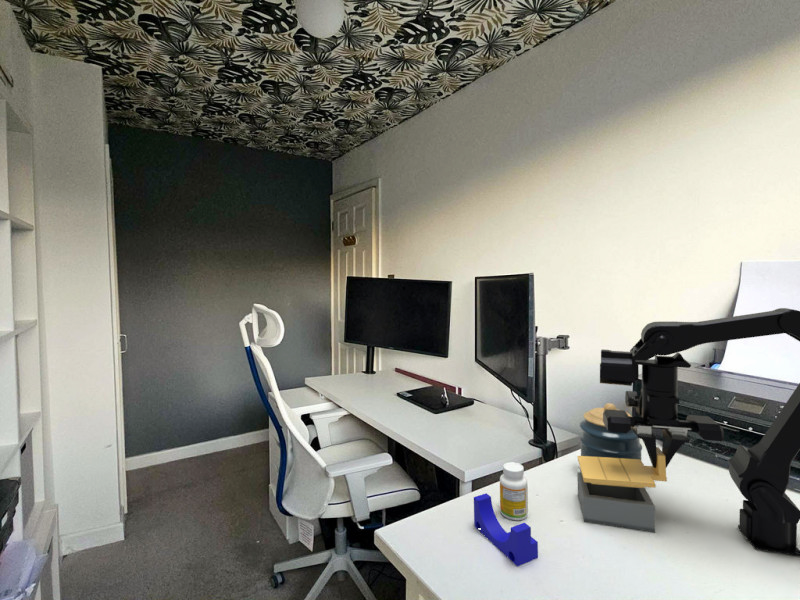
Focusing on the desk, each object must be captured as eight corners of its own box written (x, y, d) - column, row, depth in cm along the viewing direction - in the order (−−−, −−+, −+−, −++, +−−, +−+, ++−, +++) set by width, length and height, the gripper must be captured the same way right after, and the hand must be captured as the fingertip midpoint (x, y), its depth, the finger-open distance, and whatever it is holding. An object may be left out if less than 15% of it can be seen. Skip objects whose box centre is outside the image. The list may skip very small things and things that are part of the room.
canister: (599, 459, 102) (599, 392, 101) (653, 480, 91) (653, 405, 90) (568, 473, 95) (568, 401, 94) (622, 498, 84) (622, 417, 83)
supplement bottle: (507, 502, 83) (506, 458, 83) (532, 511, 80) (531, 465, 80) (495, 514, 79) (494, 467, 79) (521, 524, 76) (520, 475, 75)
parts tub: (640, 503, 82) (640, 479, 82) (655, 532, 72) (655, 506, 72) (577, 495, 86) (577, 472, 85) (583, 522, 76) (583, 497, 76)
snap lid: (655, 468, 81) (653, 441, 80) (672, 494, 71) (670, 463, 71) (578, 463, 85) (576, 437, 85) (584, 487, 76) (582, 457, 76)
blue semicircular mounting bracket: (537, 558, 67) (537, 524, 67) (517, 567, 65) (516, 532, 65) (493, 520, 78) (492, 491, 77) (474, 527, 76) (473, 497, 76)
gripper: (699, 380, 80) (698, 455, 81) (598, 375, 86) (598, 445, 87) (725, 395, 69) (724, 481, 70) (608, 389, 75) (608, 469, 76)
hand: (658, 467), depth 76 cm, fingers closed on snap lid
